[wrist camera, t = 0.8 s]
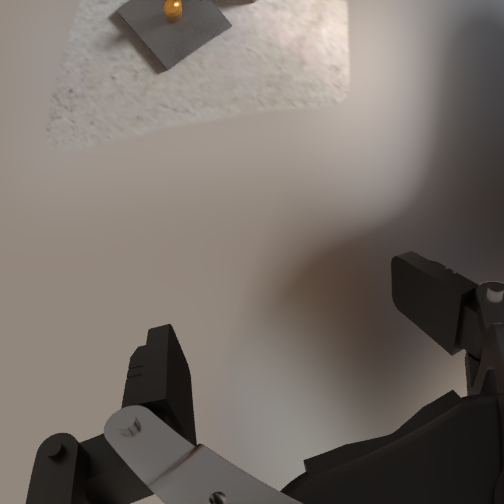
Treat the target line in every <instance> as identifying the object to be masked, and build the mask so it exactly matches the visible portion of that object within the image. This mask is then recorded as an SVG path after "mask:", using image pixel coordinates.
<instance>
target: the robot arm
mask: <svg viewBox="0 0 504 504" xmlns="http://www.w3.org/2000/svg"><path fill="white" fill-rule="evenodd" d="M391 273H392V274H391V275H392V298H393V302H394V304H395V306H396V308H397V309H398V310H399V311H400V312H401V313H402V314H404V315H405V316H406V317H407V318H408V319H410V320H411V321H412V322H413V323H415V324H416V325H417V326H418V327H419V328H420V329H422V330H423V331H424V332H425V333H426V334H427V335H429V336H430V337H431V338H432V339H433V340H434V341H436V342H437V343H438V344H439V345H440V346H441V347H443V348H444V349H445V350H446V351H447V352H448V353H449V354H450V355H454V354H456V353H457V352H459V351H461V350H462V349H465V350H466V354H465V370H466V382H467V396H466V397H462V398H461V397H459V395H458V394H457V393H456V392H455V391H454V390H452V391H450V392H448V393H446V394H445V395H443V396H442V397H440V398H438V399H436V400H435V401H433V402H432V403H430V404H428V405H426V406H424V407H423V408H422V409H420V410H419V411H418V412H417V413H416V414H415V415H414V416H413V417H412V418H411V419H409V420H408V421H407V422H406V423H405V424H403V425H402V426H401V427H400V428H399V429H398V430H396V431H395V432H394V433H392V434H390V435H387V436H383V437H379V438H374V439H370V440H365V441H361V442H356V443H351V444H346V445H343V446H341V447H338V448H336V449H334V450H331V451H328V452H325V453H323V454H320V455H317V456H314V457H312V458H309V459H306V460H304V465H305V470H306V472H305V473H303V474H301V475H300V476H298V477H297V478H295V479H294V480H292V481H291V482H290V483H289V484H287V485H286V486H285V487H284V488H283V489H282V490H281V491H278V490H276V489H274V488H273V487H271V486H269V485H267V484H265V483H264V482H262V481H260V480H258V479H257V478H255V477H253V476H252V475H250V474H248V473H247V472H245V471H243V470H242V469H240V468H239V467H237V466H236V465H234V464H232V463H231V462H229V461H228V460H226V459H224V458H223V457H222V456H220V455H219V454H217V453H216V452H214V451H213V450H211V449H210V448H208V447H207V446H205V445H203V444H198V445H197V442H196V432H195V421H194V411H193V400H192V399H193V398H192V386H191V375H190V370H189V367H188V363H187V361H186V358H185V356H184V354H183V351H182V349H181V346H180V344H179V341H178V339H177V337H176V334H175V332H174V329H173V327H172V325H171V324H167V325H163V326H159V327H155V328H151V329H149V330H148V336H147V342H146V345H144V346H140V347H138V348H137V349H136V351H135V352H134V353H133V355H132V356H131V358H130V363H129V370H128V373H127V380H126V384H125V390H124V395H123V401H122V408H121V409H120V410H118V411H117V412H115V413H114V414H112V416H111V417H110V418H109V419H108V420H107V422H106V424H105V426H104V433H103V434H101V435H99V436H96V437H94V438H91V439H89V440H86V441H83V442H81V443H79V442H78V441H77V440H76V439H75V437H73V436H72V435H71V434H68V433H58V434H55V435H52V436H50V437H49V438H47V439H46V440H45V441H44V442H43V443H42V444H41V445H40V447H39V449H38V451H37V454H36V458H35V462H34V466H33V471H32V475H31V480H30V484H29V489H28V495H27V500H26V504H130V503H133V502H135V501H138V500H141V499H143V498H146V497H148V496H151V495H153V494H156V496H158V497H159V498H160V499H161V500H162V501H163V502H164V503H165V504H504V283H501V282H496V281H489V282H484V283H482V284H480V285H478V284H476V283H474V282H473V281H471V280H469V279H467V278H465V277H464V276H462V275H460V274H458V273H455V271H453V270H451V269H449V268H448V269H447V267H446V266H444V265H442V264H440V263H438V262H435V261H431V260H428V259H426V258H424V257H422V256H420V255H418V254H417V253H415V252H412V251H409V252H406V253H403V254H400V255H397V256H394V257H393V258H392V261H391Z"/></svg>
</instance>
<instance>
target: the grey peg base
mask: <svg viewBox="0 0 504 504" xmlns="http://www.w3.org/2000/svg"><path fill="white" fill-rule="evenodd" d="M117 12H118V13H119V14H120V15H121V16H122V17H123V18H124V20H125V21H126V22H127V23H128V24H129V25H130V26H131V28H132V29H133V30H134V31H135V32H136V33H137V34H138V36H139V37H140V38H141V39H142V40H143V41H144V42H145V44H146V45H147V46H148V47H149V48H150V49H151V51H152V52H153V53H154V54H155V55H156V56H157V58H158V59H159V60H160V61H161V62H162V64H163V65H164V66H165V67H166V68H167V70H169V69H171V68H172V67H173V66H175V65H176V64H177V63H179V62H180V61H181V60H183V59H184V58H186V57H187V56H188V55H190V54H191V53H193V52H194V51H195V50H197V49H198V48H200V47H201V46H203V45H204V44H206V43H207V42H209V41H210V40H212V39H213V38H215V37H216V36H218V35H220V34H221V33H223V32H224V31H226V30H227V29H229V28H231V27H232V25H231V24H230V22H229V21H228V20H227V19H226V17H225V16H224V15H223V14H222V12H221V11H220V10H219V9H218V8H217V6H216V5H215V4H214V3H213V2H212V1H211V0H130V1H129V2H127V3H126V4H125V5H123V6H122V7H121V8H120V9H118V10H117Z"/></svg>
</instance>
